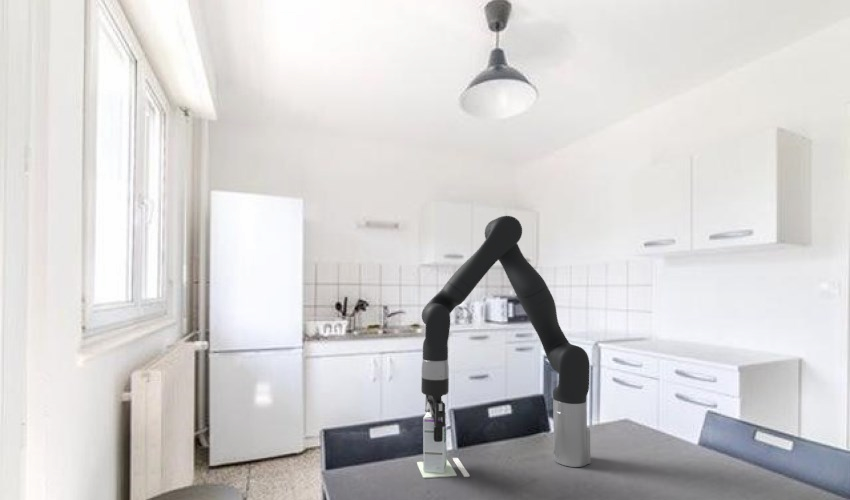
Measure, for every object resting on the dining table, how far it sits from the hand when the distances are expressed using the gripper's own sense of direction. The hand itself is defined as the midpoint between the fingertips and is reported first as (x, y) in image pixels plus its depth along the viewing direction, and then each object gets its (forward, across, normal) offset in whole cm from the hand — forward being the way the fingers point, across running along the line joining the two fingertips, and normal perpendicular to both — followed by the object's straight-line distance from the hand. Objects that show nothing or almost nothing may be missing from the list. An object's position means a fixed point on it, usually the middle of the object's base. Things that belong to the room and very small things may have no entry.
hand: (434, 435), depth 120 cm
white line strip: (+9, 0, -8) cm, 12 cm away
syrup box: (+9, 0, 0) cm, 9 cm away
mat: (+9, 0, 0) cm, 9 cm away
